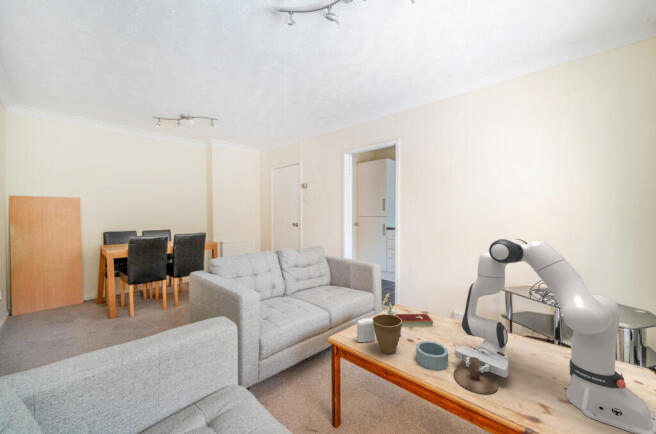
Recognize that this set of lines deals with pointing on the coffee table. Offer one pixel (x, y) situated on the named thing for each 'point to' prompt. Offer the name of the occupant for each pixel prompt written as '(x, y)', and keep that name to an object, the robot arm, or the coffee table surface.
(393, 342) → the plant pot
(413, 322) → the hardcover book
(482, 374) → the walnut lid
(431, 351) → the ceramic bowl
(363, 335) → the photo printer
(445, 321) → the coffee table surface
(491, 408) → the coffee table surface
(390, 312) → the flower in vase
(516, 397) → the coffee table surface
